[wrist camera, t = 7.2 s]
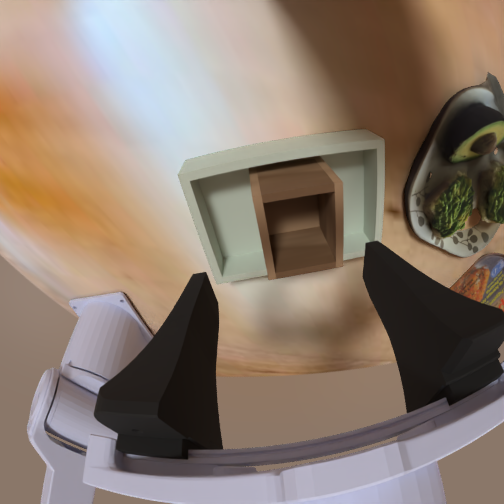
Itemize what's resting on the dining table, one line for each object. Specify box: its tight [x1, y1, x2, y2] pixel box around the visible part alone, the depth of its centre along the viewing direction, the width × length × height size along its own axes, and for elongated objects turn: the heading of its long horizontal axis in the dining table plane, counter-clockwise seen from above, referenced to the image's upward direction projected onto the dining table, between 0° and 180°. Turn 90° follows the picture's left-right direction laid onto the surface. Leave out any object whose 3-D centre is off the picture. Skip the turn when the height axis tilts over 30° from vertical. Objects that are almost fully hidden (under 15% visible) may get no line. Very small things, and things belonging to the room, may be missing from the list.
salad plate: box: [405, 72, 504, 257], centre depth 18 cm, size 19×18×5 cm
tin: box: [450, 253, 504, 312], centre depth 25 cm, size 15×3×8 cm, turn 145°
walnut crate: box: [249, 156, 344, 280], centre depth 18 cm, size 6×5×5 cm
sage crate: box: [178, 129, 385, 284], centre depth 20 cm, size 9×13×3 cm
